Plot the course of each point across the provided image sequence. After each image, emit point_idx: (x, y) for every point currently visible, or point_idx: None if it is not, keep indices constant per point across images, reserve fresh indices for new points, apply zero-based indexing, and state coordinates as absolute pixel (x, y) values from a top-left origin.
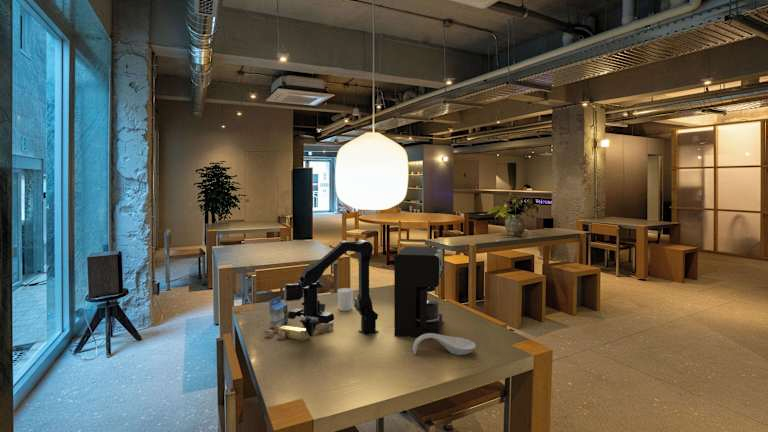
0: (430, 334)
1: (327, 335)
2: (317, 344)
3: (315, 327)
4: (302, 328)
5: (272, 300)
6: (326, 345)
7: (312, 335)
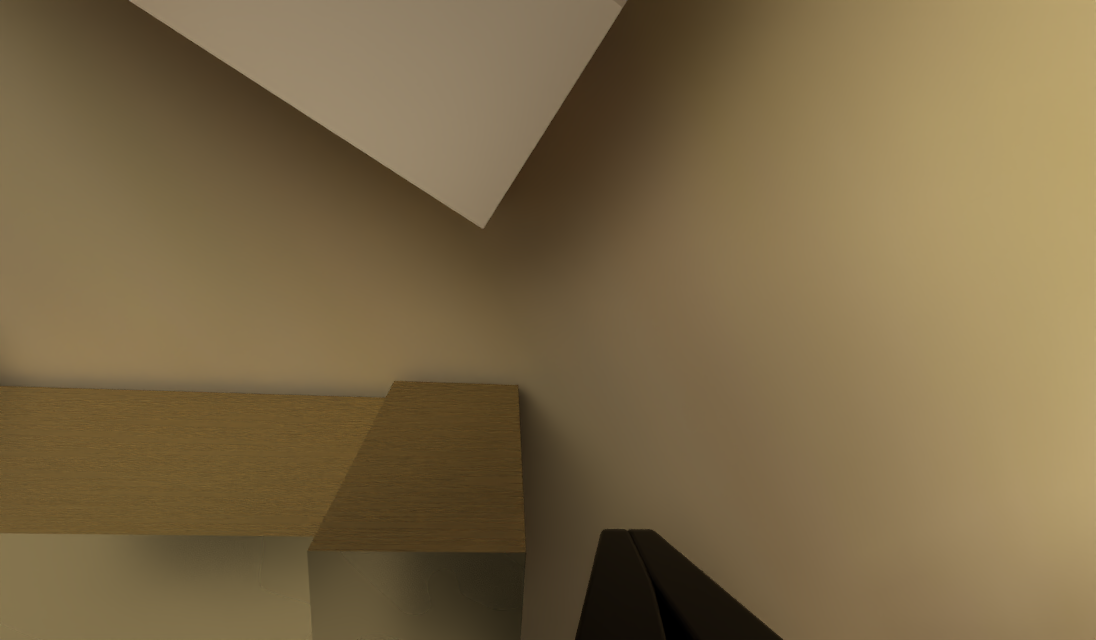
0: None
1: (877, 81)
2: (824, 620)
3: (552, 118)
4: (186, 554)
5: None
6: (1006, 603)
7: (657, 540)
